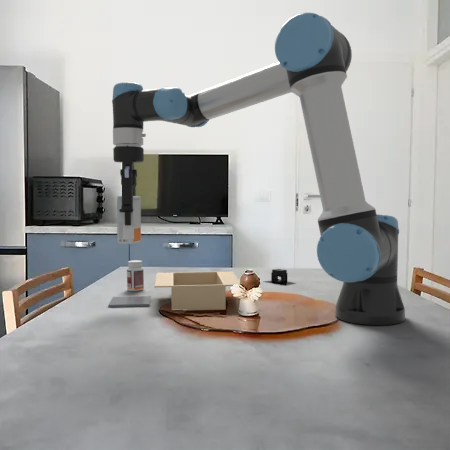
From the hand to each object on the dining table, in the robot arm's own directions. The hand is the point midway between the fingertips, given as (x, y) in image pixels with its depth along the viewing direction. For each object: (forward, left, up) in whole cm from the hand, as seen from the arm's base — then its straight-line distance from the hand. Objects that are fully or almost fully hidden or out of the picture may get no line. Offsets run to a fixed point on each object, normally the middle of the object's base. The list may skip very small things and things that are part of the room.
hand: (129, 237), depth 135 cm
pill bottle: (+18, 0, -17) cm, 25 cm away
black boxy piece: (+26, -44, -18) cm, 54 cm away
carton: (0, -17, -17) cm, 24 cm away
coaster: (0, 0, -17) cm, 17 cm away
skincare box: (0, 0, -2) cm, 2 cm away
